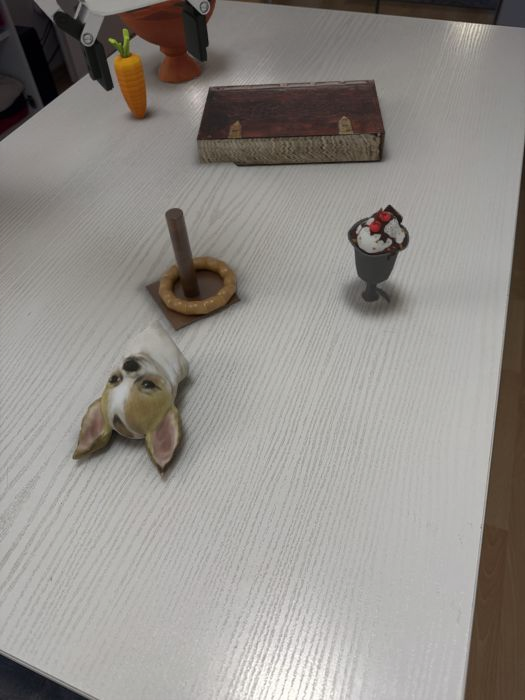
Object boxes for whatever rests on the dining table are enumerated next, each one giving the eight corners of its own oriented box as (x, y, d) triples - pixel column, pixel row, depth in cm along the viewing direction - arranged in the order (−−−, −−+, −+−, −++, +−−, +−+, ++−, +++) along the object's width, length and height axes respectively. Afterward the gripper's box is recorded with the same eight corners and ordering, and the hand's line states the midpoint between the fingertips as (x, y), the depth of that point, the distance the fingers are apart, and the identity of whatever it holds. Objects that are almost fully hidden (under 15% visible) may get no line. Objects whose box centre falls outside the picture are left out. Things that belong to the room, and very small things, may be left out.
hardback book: (371, 104, 98) (374, 76, 94) (381, 162, 86) (385, 132, 82) (212, 111, 100) (209, 83, 96) (201, 168, 88) (196, 139, 84)
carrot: (134, 130, 97) (112, 40, 86) (123, 119, 100) (100, 31, 89) (159, 121, 99) (140, 32, 87) (147, 111, 102) (127, 23, 90)
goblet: (113, 79, 111) (73, -70, 92) (182, 46, 120) (158, -97, 100) (175, 106, 102) (145, -54, 83) (245, 68, 111) (232, -85, 92)
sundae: (355, 326, 64) (366, 224, 53) (334, 289, 69) (341, 186, 57) (406, 313, 65) (428, 209, 54) (383, 277, 70) (398, 173, 58)
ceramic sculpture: (202, 315, 55) (153, 449, 46) (215, 364, 62) (175, 488, 53) (105, 304, 57) (42, 430, 48) (128, 352, 64) (77, 470, 55)
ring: (181, 328, 64) (178, 319, 63) (148, 282, 70) (146, 273, 69) (250, 295, 67) (249, 286, 66) (214, 254, 73) (212, 244, 71)
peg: (176, 336, 65) (153, 251, 55) (146, 292, 70) (120, 207, 60) (241, 305, 68) (230, 218, 58) (207, 265, 73) (192, 180, 63)
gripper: (188, -197, 43) (214, 35, 56) (-32, -165, 38) (53, 82, 51) (234, -189, 39) (250, 60, 52) (-6, -152, 34) (79, 113, 47)
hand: (152, 70), depth 52 cm, fingers open, 9 cm apart
